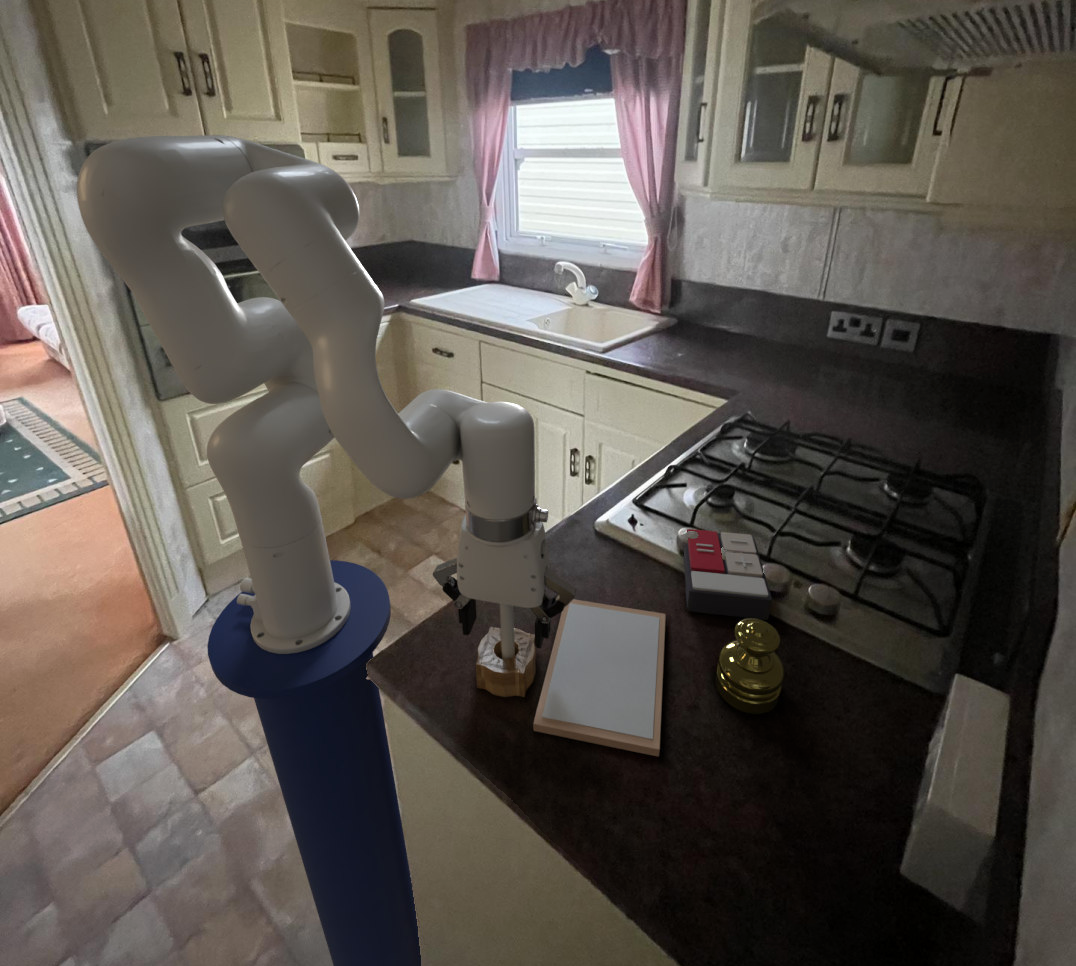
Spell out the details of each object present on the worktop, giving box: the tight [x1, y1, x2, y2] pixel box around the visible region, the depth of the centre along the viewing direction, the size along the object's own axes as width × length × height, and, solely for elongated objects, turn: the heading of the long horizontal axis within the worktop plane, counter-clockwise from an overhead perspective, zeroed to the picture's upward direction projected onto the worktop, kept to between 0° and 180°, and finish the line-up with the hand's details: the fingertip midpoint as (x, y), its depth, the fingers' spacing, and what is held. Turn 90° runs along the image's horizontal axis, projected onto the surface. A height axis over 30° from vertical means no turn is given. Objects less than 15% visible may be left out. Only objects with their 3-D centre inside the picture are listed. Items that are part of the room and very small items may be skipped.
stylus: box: [499, 604, 515, 660], centre depth 72 cm, size 2×2×12 cm
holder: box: [475, 626, 537, 698], centre depth 74 cm, size 7×7×4 cm
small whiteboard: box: [532, 598, 666, 757], centre depth 75 cm, size 14×20×1 cm
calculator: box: [682, 528, 773, 621], centre depth 89 cm, size 11×4×15 cm
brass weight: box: [715, 618, 786, 715], centre depth 70 cm, size 7×7×10 cm
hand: (504, 632), depth 72 cm, fingers open, 8 cm apart
